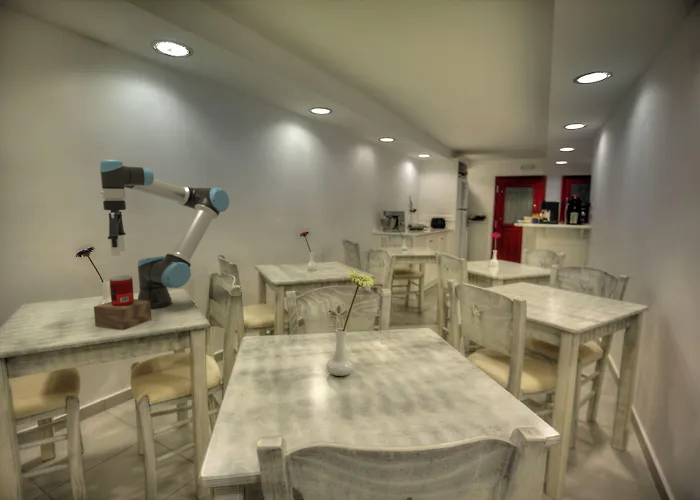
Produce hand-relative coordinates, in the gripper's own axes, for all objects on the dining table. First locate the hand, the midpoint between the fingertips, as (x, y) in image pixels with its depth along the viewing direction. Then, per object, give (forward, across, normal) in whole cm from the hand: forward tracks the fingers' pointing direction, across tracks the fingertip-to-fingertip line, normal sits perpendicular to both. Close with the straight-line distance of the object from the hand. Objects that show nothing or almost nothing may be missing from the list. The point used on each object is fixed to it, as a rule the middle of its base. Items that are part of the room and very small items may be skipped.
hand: (118, 253), depth 152 cm
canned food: (+21, +1, 0) cm, 21 cm away
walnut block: (+29, +1, 0) cm, 29 cm away
